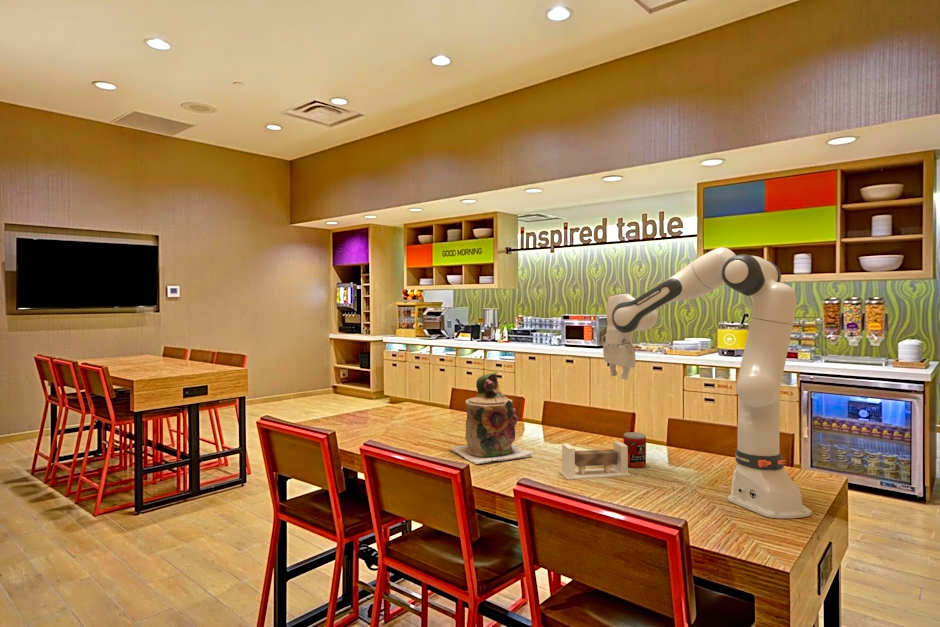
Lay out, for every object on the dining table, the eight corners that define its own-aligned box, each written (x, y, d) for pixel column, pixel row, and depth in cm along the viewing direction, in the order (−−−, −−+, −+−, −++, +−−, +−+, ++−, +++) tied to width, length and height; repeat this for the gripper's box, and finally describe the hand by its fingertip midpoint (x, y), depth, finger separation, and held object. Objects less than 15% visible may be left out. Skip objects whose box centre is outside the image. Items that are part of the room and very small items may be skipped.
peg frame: (620, 469, 204) (620, 440, 203) (630, 476, 196) (630, 446, 195) (559, 472, 200) (559, 443, 200) (567, 479, 192) (567, 449, 192)
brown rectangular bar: (577, 466, 194) (577, 454, 194) (572, 462, 199) (572, 451, 199) (617, 464, 197) (617, 452, 197) (612, 460, 201) (612, 449, 201)
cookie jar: (447, 450, 230) (447, 369, 229) (501, 443, 241) (501, 366, 241) (477, 466, 208) (477, 376, 207) (535, 457, 220) (535, 372, 219)
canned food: (631, 469, 204) (631, 437, 203) (619, 463, 211) (619, 432, 211) (650, 467, 206) (650, 436, 205) (638, 461, 213) (638, 431, 213)
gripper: (640, 340, 199) (640, 381, 199) (616, 337, 219) (616, 373, 219) (622, 341, 198) (622, 381, 198) (600, 337, 218) (600, 374, 219)
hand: (619, 377), depth 209 cm, fingers open, 8 cm apart
